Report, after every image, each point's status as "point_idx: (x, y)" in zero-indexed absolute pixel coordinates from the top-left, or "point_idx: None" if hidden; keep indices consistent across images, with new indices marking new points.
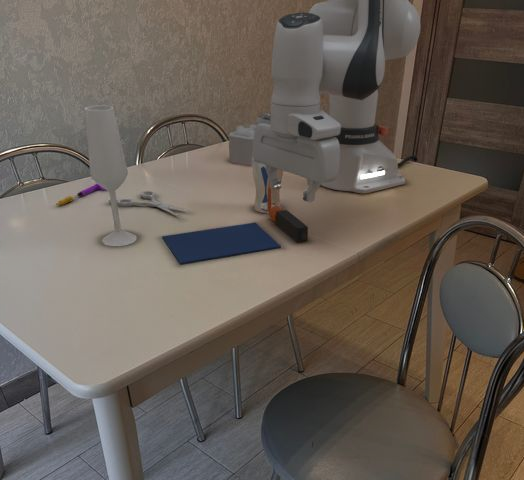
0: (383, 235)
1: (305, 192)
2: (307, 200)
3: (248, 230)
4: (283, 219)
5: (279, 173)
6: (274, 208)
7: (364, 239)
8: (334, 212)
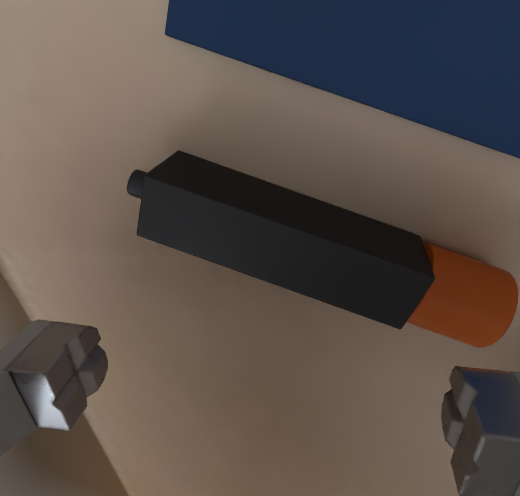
0: None
1: (17, 371)
2: (37, 323)
3: (488, 27)
4: (327, 233)
5: None
6: (484, 308)
7: None
8: (325, 457)
